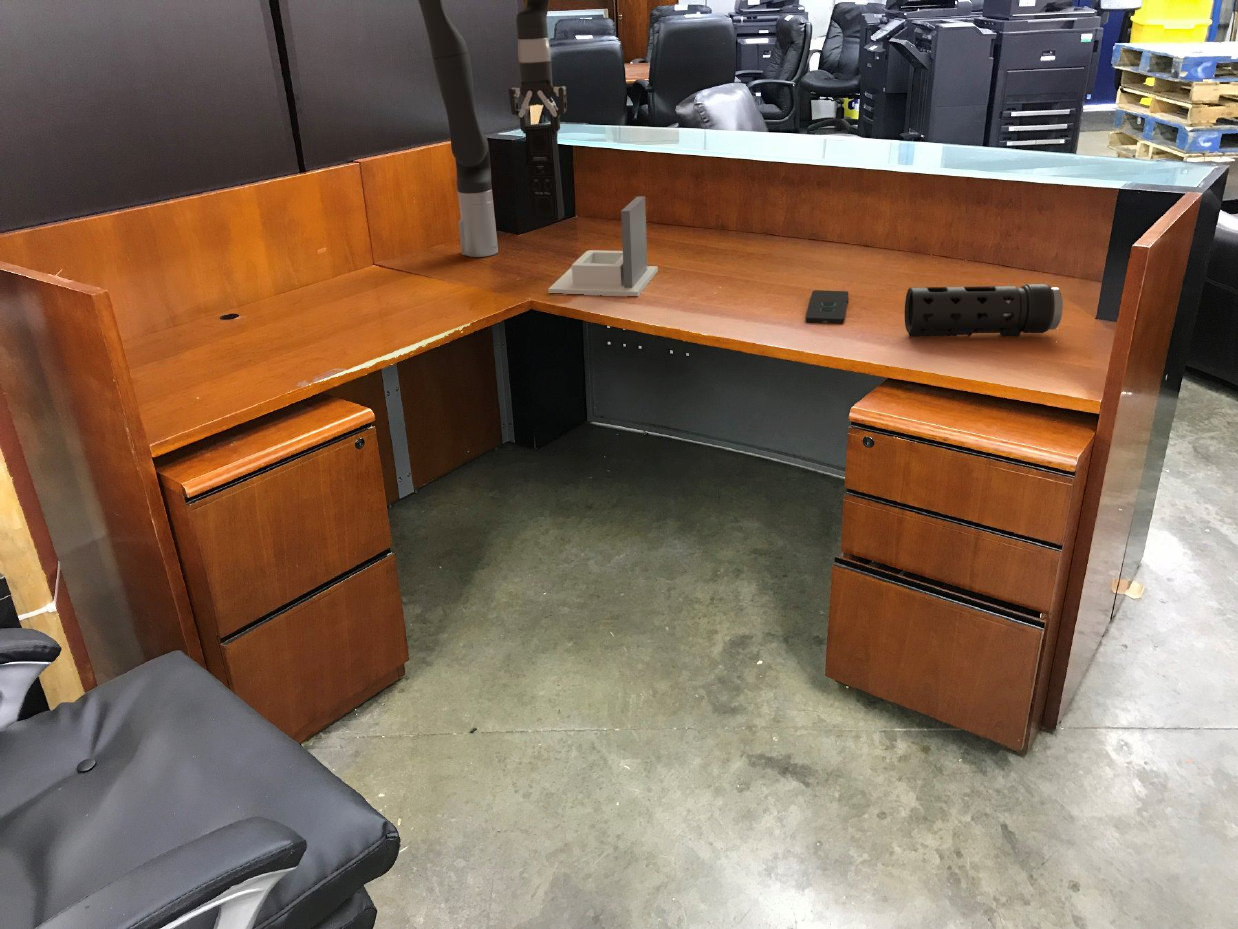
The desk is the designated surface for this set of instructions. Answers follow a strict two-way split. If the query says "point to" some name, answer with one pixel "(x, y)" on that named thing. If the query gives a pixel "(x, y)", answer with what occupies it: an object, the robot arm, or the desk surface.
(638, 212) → the docking stand
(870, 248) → the desk surface
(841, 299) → the smart home device
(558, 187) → the portable radio
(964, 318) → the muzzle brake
